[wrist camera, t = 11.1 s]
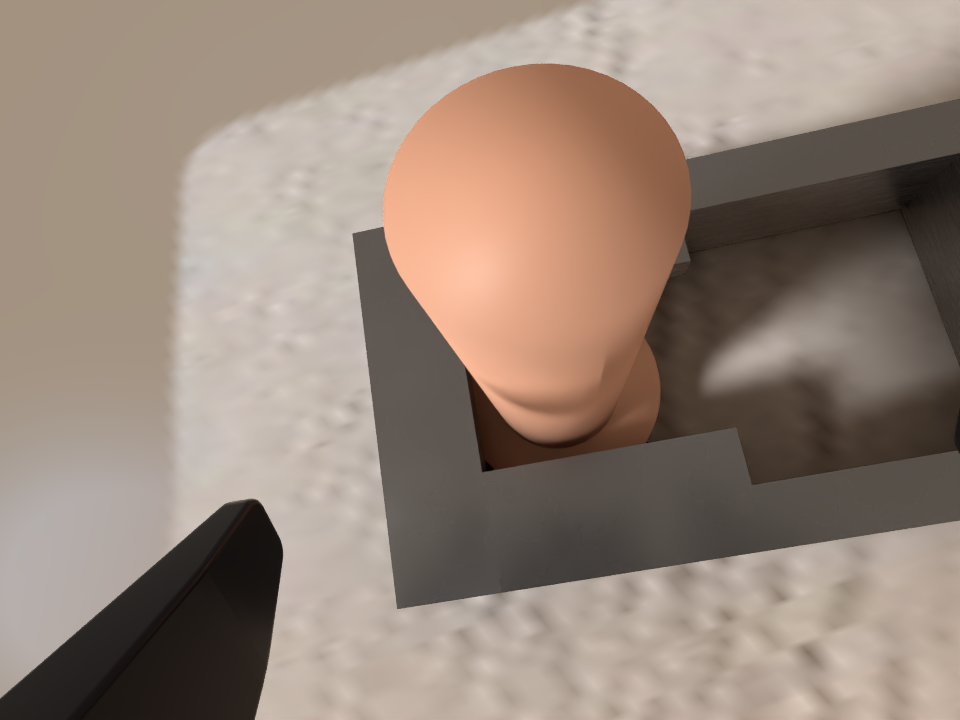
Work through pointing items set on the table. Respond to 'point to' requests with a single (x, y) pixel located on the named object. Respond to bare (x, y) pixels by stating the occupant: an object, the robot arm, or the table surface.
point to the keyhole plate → (673, 462)
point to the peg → (543, 251)
